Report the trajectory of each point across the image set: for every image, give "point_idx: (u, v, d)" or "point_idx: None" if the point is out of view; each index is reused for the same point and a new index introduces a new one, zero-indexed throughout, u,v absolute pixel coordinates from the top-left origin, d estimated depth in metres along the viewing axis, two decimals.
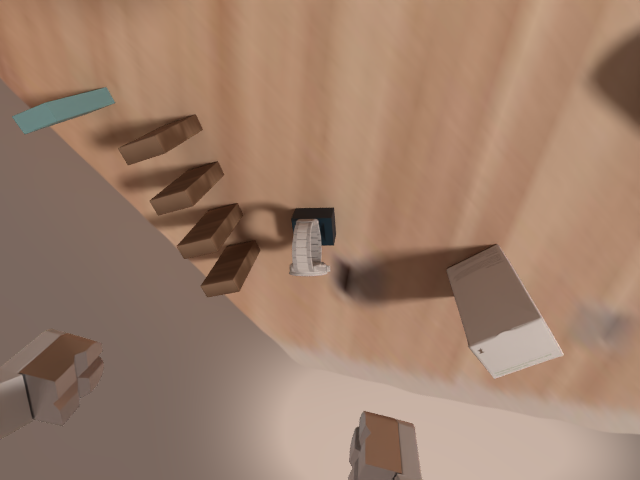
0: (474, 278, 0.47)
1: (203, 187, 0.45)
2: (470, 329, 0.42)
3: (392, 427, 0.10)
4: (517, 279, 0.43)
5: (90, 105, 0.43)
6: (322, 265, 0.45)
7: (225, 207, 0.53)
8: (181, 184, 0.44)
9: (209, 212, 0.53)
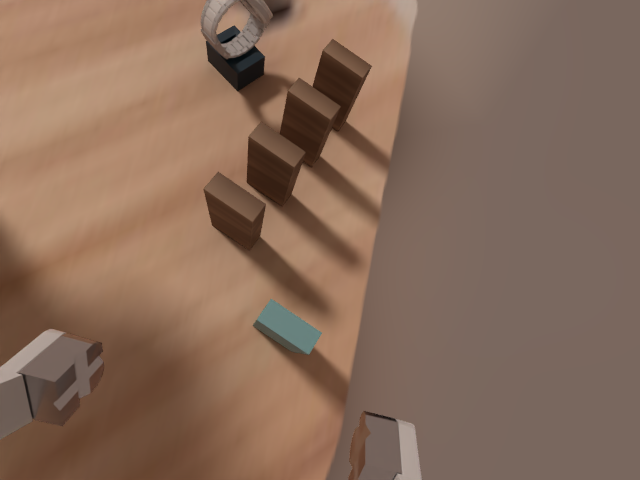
0: None
1: None
2: None
3: (392, 427, 0.10)
4: None
5: None
6: None
7: None
8: (267, 167, 0.36)
9: (308, 160, 0.44)
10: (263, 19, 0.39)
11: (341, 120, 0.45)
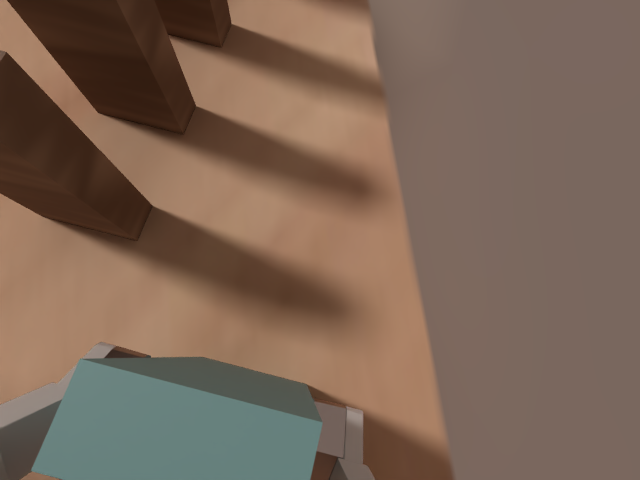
0: None
1: None
2: None
3: (340, 413, 0.10)
4: None
5: None
6: None
7: (170, 29, 0.22)
8: (65, 15, 0.14)
9: (208, 32, 0.21)
10: None
11: None
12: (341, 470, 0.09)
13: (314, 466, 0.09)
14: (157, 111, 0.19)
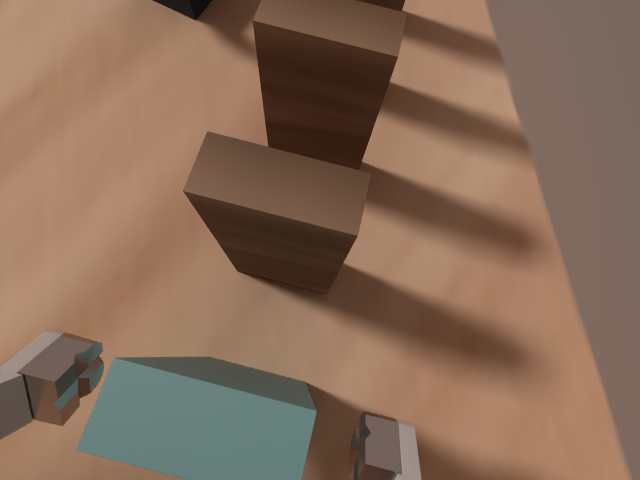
0: None
1: None
2: None
3: (392, 427, 0.10)
4: None
5: None
6: None
7: None
8: (314, 102, 0.15)
9: None
10: None
11: None
12: None
13: None
14: None
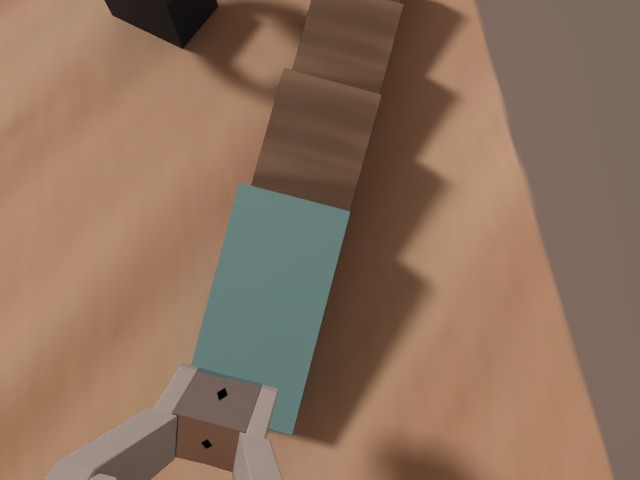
0: None
1: None
2: None
3: (253, 391, 0.10)
4: None
5: None
6: None
7: None
8: (341, 48, 0.20)
9: None
10: None
11: None
12: (241, 444, 0.09)
13: (220, 440, 0.09)
14: None
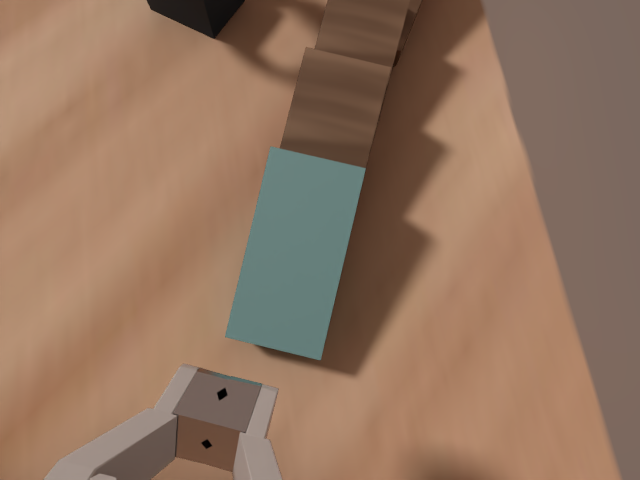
0: None
1: None
2: None
3: (253, 391, 0.10)
4: None
5: None
6: None
7: None
8: (358, 26, 0.23)
9: None
10: None
11: None
12: (241, 444, 0.09)
13: (220, 441, 0.09)
14: None
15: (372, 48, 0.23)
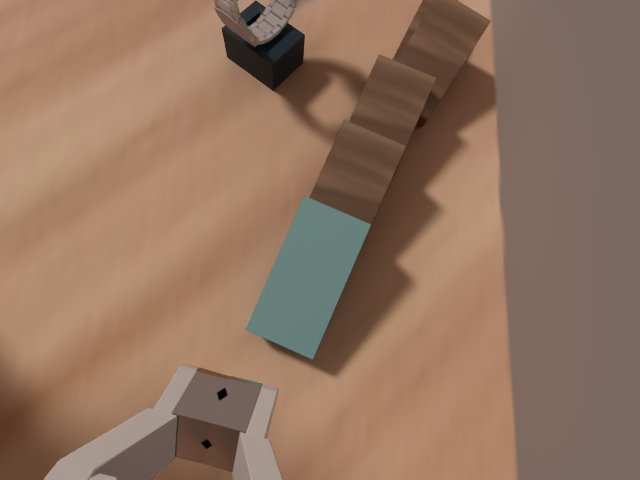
0: None
1: None
2: None
3: (253, 390, 0.10)
4: None
5: None
6: None
7: None
8: (388, 102, 0.29)
9: (426, 107, 0.31)
10: None
11: None
12: (241, 444, 0.09)
13: (220, 441, 0.09)
14: None
15: (397, 120, 0.29)
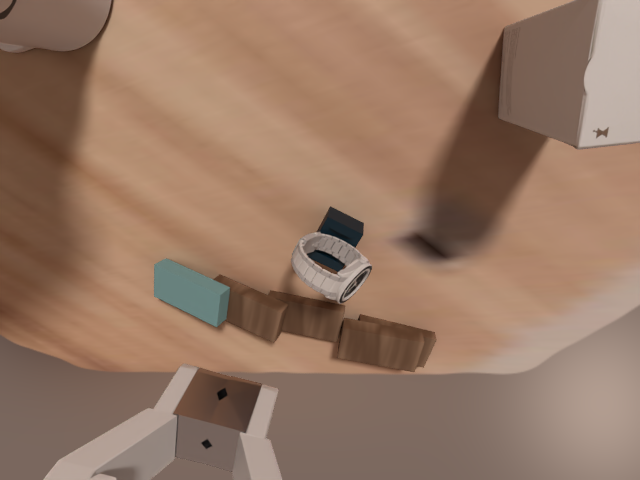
0: (516, 84, 0.29)
1: (316, 300, 0.47)
2: (559, 130, 0.23)
3: (253, 391, 0.10)
4: (543, 13, 0.24)
5: (190, 272, 0.46)
6: (351, 263, 0.34)
7: (344, 340, 0.45)
8: (316, 321, 0.47)
9: (345, 355, 0.46)
10: None
11: None
12: (241, 444, 0.09)
13: (220, 440, 0.09)
14: None
15: (306, 326, 0.47)
